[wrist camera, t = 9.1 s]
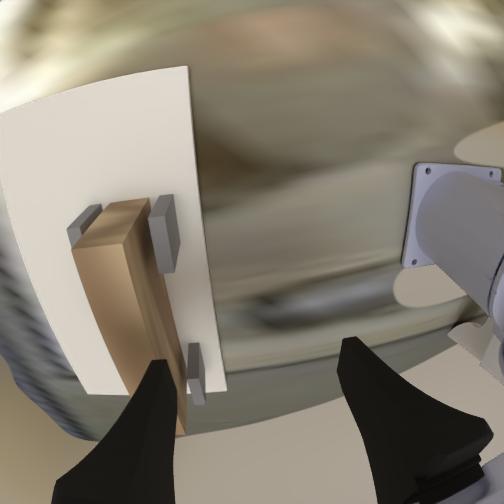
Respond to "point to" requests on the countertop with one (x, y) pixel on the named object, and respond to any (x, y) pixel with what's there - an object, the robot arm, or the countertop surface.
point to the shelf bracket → (480, 345)
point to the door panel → (130, 296)
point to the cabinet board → (98, 198)
